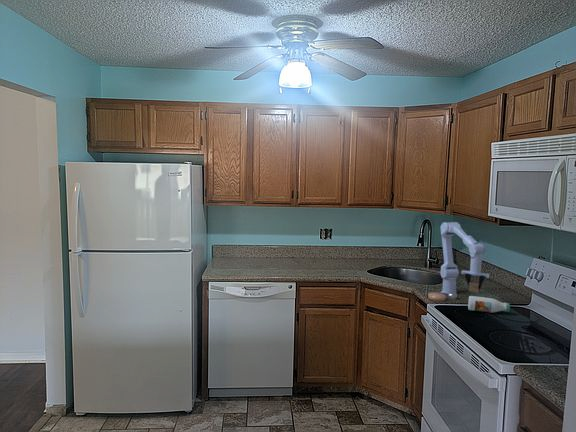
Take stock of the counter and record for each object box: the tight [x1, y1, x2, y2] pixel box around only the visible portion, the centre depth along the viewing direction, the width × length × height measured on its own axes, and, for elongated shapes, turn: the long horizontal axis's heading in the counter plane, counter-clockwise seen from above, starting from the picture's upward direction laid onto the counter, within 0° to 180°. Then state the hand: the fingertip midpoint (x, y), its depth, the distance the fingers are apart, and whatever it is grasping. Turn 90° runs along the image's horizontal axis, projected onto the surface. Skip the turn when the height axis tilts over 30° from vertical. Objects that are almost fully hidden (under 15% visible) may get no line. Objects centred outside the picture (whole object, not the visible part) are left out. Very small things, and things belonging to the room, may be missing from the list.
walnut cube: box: [468, 280, 481, 293], centre depth 243 cm, size 5×5×5 cm
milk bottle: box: [467, 295, 511, 314], centre depth 229 cm, size 8×8×20 cm
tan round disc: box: [427, 291, 447, 302], centre depth 251 cm, size 10×10×2 cm
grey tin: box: [447, 292, 458, 300], centre depth 253 cm, size 5×5×3 cm
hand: (474, 288), depth 243 cm, fingers closed on walnut cube, 5 cm apart
